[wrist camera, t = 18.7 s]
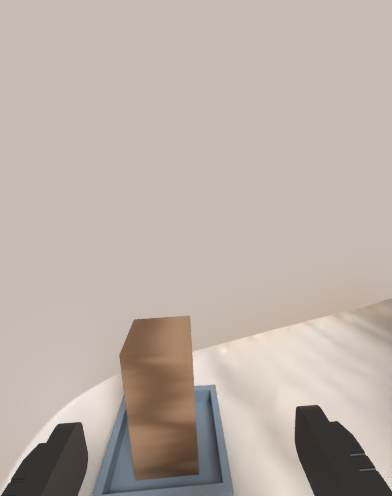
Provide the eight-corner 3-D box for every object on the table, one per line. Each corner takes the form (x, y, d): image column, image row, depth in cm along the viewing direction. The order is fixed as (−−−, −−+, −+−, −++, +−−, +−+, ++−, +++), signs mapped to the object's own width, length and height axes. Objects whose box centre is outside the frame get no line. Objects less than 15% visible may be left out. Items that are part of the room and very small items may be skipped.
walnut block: (195, 417, 24) (189, 315, 22) (199, 474, 19) (191, 349, 17) (145, 422, 23) (134, 319, 21) (135, 480, 19) (119, 355, 16)
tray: (215, 400, 26) (215, 384, 26) (233, 514, 17) (233, 492, 16) (126, 408, 26) (124, 392, 25) (93, 528, 16) (89, 506, 16)
